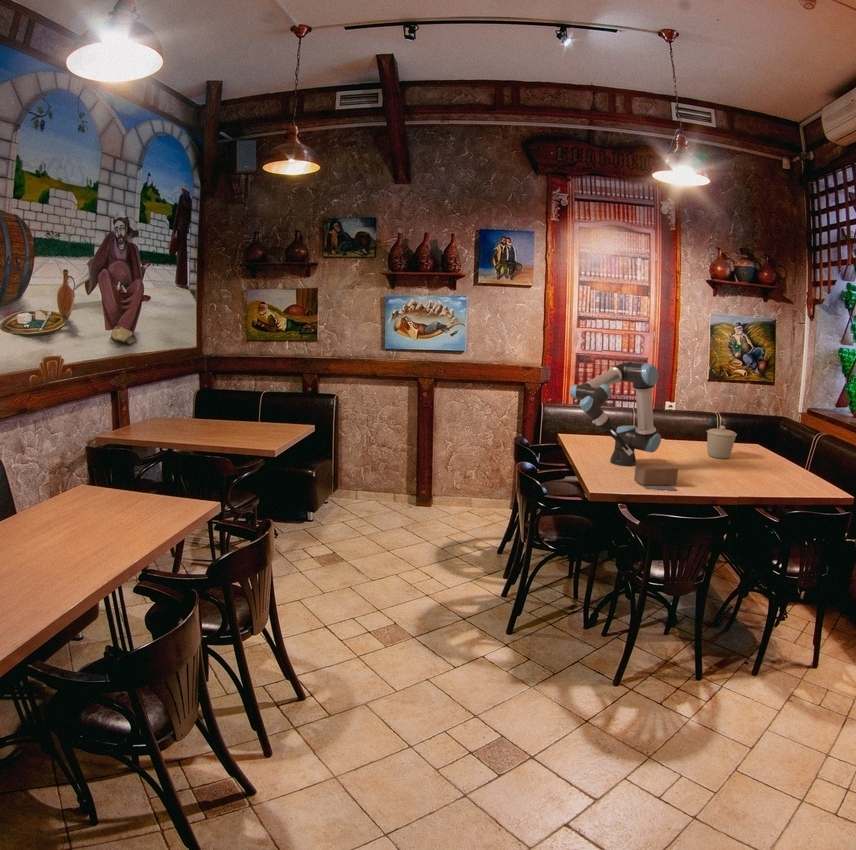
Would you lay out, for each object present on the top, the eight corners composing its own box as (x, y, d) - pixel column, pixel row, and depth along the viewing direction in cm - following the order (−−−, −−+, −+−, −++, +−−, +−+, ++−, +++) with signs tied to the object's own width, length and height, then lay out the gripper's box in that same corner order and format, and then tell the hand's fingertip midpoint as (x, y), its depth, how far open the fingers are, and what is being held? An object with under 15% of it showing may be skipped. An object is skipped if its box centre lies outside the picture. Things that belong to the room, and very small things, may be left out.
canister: (734, 461, 387) (739, 429, 383) (703, 458, 394) (707, 426, 390) (732, 456, 404) (737, 425, 400) (703, 452, 411) (707, 421, 407)
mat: (636, 480, 334) (636, 479, 334) (665, 482, 334) (666, 481, 334) (646, 489, 318) (646, 488, 318) (677, 491, 318) (677, 489, 318)
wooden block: (644, 467, 321) (679, 467, 324) (635, 462, 330) (669, 462, 333) (642, 486, 323) (676, 485, 326) (633, 480, 332) (667, 480, 335)
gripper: (593, 423, 326) (621, 455, 329) (600, 428, 313) (629, 461, 316) (604, 414, 325) (632, 446, 328) (611, 419, 312) (640, 452, 315)
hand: (630, 453), depth 322 cm, fingers closed
